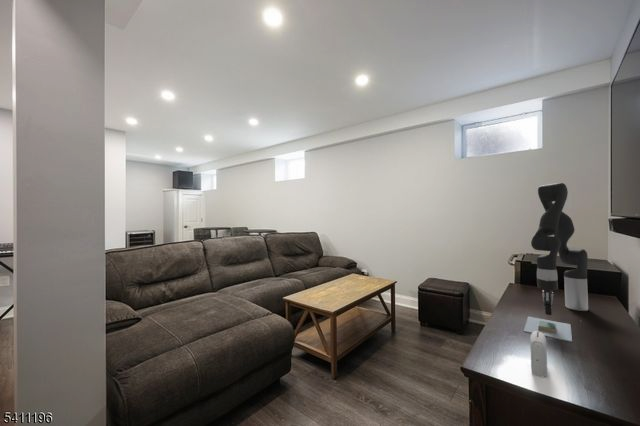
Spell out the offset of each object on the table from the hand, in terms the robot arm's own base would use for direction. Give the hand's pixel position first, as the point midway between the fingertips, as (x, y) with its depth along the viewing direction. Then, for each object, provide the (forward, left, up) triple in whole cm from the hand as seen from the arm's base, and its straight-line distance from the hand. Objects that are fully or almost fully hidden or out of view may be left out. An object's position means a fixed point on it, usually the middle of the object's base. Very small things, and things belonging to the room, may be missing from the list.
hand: (548, 314), depth 126 cm
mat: (+3, 0, -6) cm, 7 cm away
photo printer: (+47, -1, -6) cm, 48 cm away
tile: (+2, 0, -4) cm, 5 cm away
